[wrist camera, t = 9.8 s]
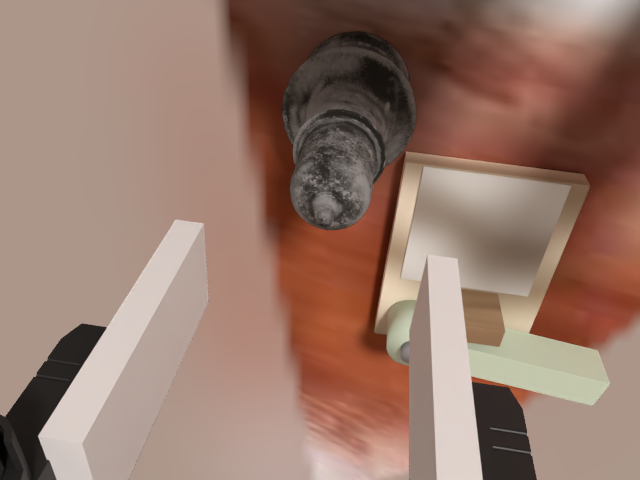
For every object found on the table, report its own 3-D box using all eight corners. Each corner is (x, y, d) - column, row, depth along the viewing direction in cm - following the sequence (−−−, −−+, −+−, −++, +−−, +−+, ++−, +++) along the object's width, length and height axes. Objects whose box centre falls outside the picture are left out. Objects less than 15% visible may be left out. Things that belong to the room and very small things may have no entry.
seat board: (406, 151, 28) (405, 192, 25) (584, 174, 28) (608, 219, 24) (375, 319, 35) (371, 369, 32) (516, 340, 35) (528, 393, 31)
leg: (382, 328, 34) (380, 366, 31) (395, 295, 32) (394, 333, 29) (578, 376, 34) (591, 418, 31) (601, 345, 32) (617, 387, 30)
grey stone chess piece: (294, 137, 29) (235, 283, 19) (296, 19, 25) (225, 124, 16) (406, 148, 28) (405, 304, 19) (424, 30, 25) (434, 145, 15)
